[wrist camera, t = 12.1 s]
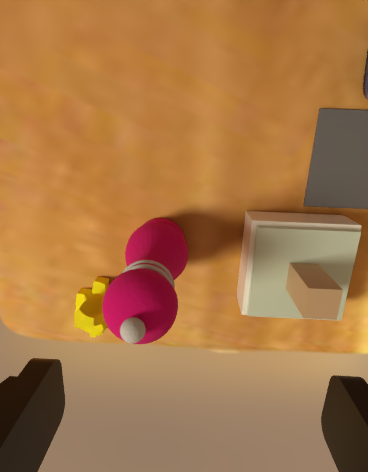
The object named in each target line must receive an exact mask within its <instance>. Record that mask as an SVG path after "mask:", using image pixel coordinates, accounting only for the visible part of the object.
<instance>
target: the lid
mask: <svg viewBox="0 0 368 472" xmlns="http://www.w3.org/2000/svg"><path fill="white" fill-rule="evenodd" d="M360 236H361V232H360V231H359V230H357V229H335V228H311V227H287V226H263V225H256V234H255V243H254V252H253V261H252V270H251V278H250V287H249V296H248V305H247V314H248V316H257V317H278V318H299V319H320V320H341V319H342V315H343V311H344V306H345V302H346V297H347V293H348V289H349V284H350V280H351V275H352V271H353V267H354V262H355V258H356V253H357V249H358V245H359V240H360Z"/></svg>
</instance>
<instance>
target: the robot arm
mask: <svg viewBox="0 0 368 472" xmlns="http://www.w3.org/2000/svg"><path fill="white" fill-rule="evenodd" d="M64 407H65V394H64V385H63V376H62V366H61V362H60V360H57V359H39V358H33V359H31V360H30V361H29V362H28V364H27V365H26V366H25V367H24V369H23V370H22V372H21V373H20V374H19V376H18V377H14V376H10V377H8V378H7V379H6V380H4V381H3V382H2V383H0V472H37V471H38V469H39V467H40V465H41V463H42V461H43V459H44V457H45V455H46V452H47V450H48V448H49V446H50V444H51V441H52V440H53V437H54V435H55V433H56V431H57V429H58V427H59V424H60V422H61V419H62V416H63V412H64ZM321 423H322V430H323V435H324V438H325V441H326V443H327V445H328V448H329V450H330V452H331V455H332V457H333V459H334V462H335V464H336V466H337V469H338V471H339V472H368V384H367V383H366V382H365V380H364V379H363V378H361V377H351V376H332V377H331V379H330V381H329V386H328V390H327V394H326V398H325V403H324V407H323V411H322V417H321Z"/></svg>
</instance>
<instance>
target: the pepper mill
mask: <svg viewBox="0 0 368 472" xmlns="http://www.w3.org/2000/svg"><path fill="white" fill-rule="evenodd" d="M125 256H126V263H127V268H126V269H125V270H124V271H123V273H122V274H120V275H119V276H117V277H116V278H115V279H114V280H113V281H112V282H111V284H110V285H109V286H108V288H107V290H106V293H105V295H104V298H103V305H102V311H103V317H104V320H105V322H106V324H107V326H108V328H109V329H110V330H111V332H112V333H113V334H114V335H115V336H117V337H118V338H120V339H121V340H124V341H126V342H127V343H132V344H146V343H151V342H153V341H156V340H158V339H159V338H161V337H162V336H163V335H165V334H166V333H167V332H168V330H169V329H170V328H171V326H172V325H173V323H174V321H175V318H176V315H177V310H178V299H177V295H176V292H175V290H174V280H175V279H176V278H177V277H178V276H179V275H180V274H181V273H182V271H183V270H184V268H185V266H186V263H187V259H188V247H187V243H186V241H185V237H184V234H183V231H182V230H181V228H180V227H179V226H178V225H177V224H176V223H175V222H173V221H171V220H169V219H165V218H155V219H152V220H149V221H147V222H146V223H145V224H144V225H143V226H141V227H140V228H138V229H137V230H136V231H135V232H134V233H133V234H132V235H131V237H130V239H129V241H128V244H127V246H126V252H125Z"/></svg>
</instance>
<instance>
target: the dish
mask: <svg viewBox="0 0 368 472" xmlns="http://www.w3.org/2000/svg"><path fill="white" fill-rule="evenodd" d="M256 225H263V226H287V227H311V228H335V229H357V230H359V231H361V227H362V225H360V224H358V223H357V222H355V221H353V220H351V219H349V218H347V217H346V216H344V215H330V214H307V213H285V212H262V211H246V213H245V222H244V232H243V242H242V251H241V261H240V270H239V280H238V290H237V299H238V303H239V306H240V310H241V314H242V315H248V314H247V305H248V296H249V287H250V278H251V270H252V261H253V252H254V243H255V234H256Z"/></svg>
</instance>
